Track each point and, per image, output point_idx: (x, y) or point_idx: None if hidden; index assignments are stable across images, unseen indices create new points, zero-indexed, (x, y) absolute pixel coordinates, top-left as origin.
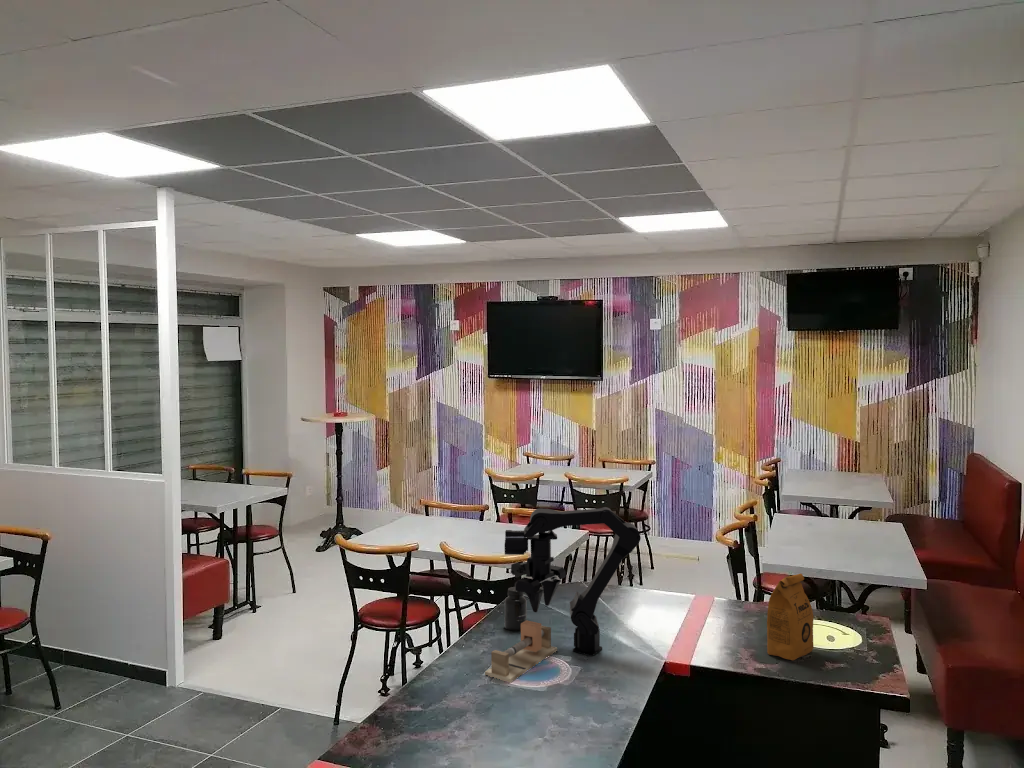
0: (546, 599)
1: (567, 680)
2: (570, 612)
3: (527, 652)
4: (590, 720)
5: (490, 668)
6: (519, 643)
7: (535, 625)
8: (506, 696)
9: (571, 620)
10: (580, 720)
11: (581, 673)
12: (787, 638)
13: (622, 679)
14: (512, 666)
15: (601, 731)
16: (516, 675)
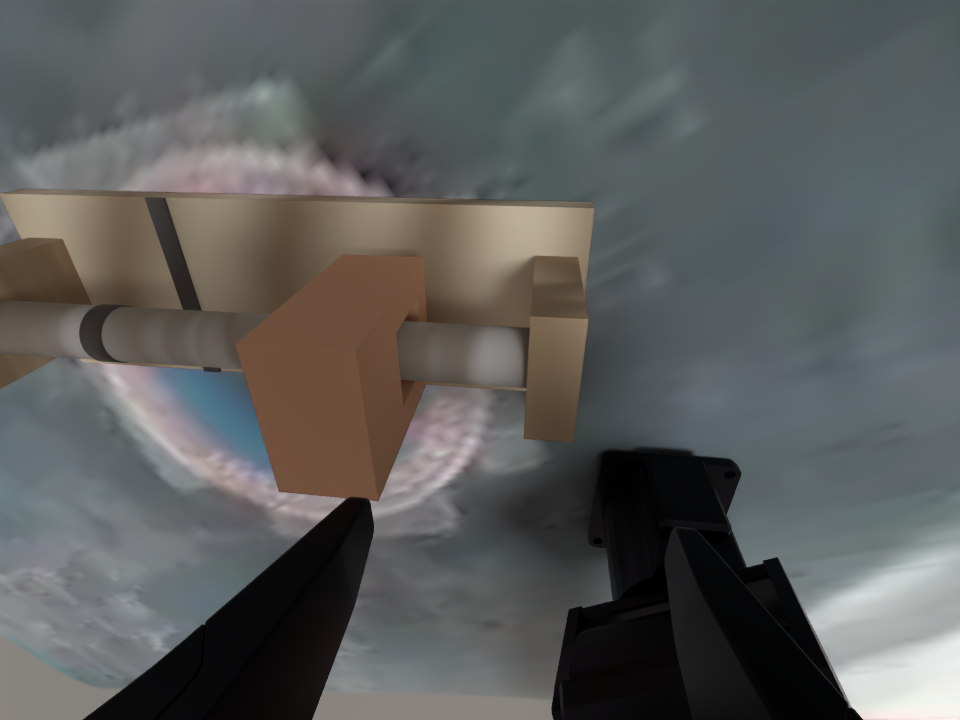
0: (695, 626)
1: (308, 525)
2: (646, 688)
3: None
4: (159, 632)
5: (52, 196)
6: (180, 357)
7: (305, 477)
8: (13, 396)
9: (573, 654)
10: (136, 616)
11: (399, 546)
12: None
13: (445, 648)
14: (179, 298)
15: (143, 657)
16: (137, 363)
